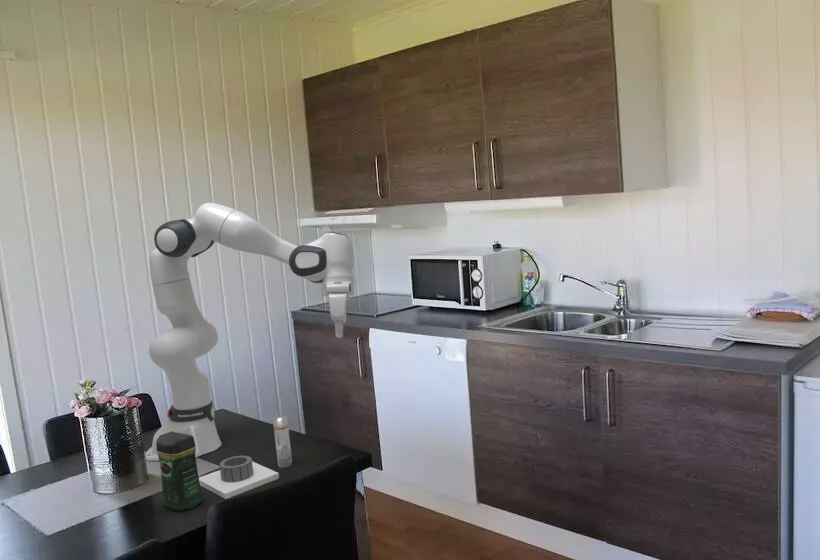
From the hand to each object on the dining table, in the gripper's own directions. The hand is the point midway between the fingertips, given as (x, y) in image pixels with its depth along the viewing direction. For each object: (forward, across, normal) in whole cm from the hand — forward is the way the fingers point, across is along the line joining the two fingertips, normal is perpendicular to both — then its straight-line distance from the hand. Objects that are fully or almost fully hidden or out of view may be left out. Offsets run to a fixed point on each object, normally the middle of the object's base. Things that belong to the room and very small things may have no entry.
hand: (339, 337), depth 197 cm
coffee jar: (+42, +12, -40) cm, 59 cm away
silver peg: (+35, -6, -16) cm, 39 cm away
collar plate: (+38, +1, -28) cm, 47 cm away
